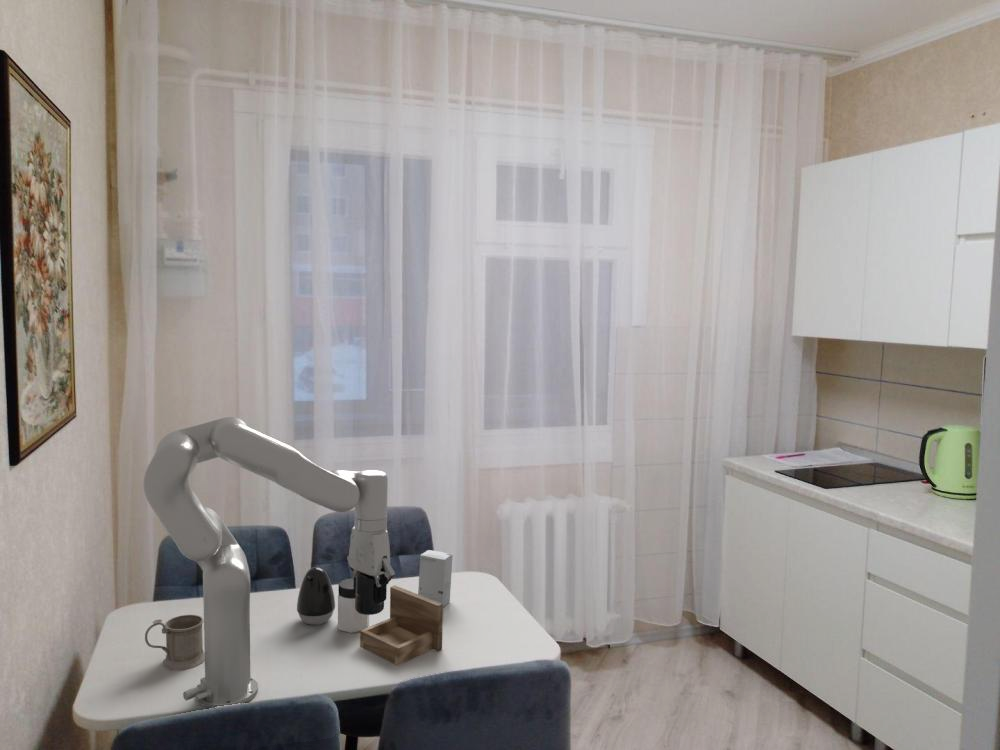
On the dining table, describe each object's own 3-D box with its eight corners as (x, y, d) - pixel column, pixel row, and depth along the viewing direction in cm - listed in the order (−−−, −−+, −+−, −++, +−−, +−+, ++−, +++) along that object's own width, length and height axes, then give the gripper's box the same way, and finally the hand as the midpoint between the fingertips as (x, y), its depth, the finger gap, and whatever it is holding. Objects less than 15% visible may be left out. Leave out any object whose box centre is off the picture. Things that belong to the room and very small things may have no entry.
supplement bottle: (348, 611, 176) (349, 562, 174) (367, 601, 182) (367, 553, 180) (372, 618, 172) (373, 567, 171) (390, 607, 178) (390, 559, 177)
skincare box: (417, 604, 218) (417, 555, 216) (426, 596, 223) (427, 548, 222) (443, 609, 215) (444, 559, 213) (452, 601, 220) (452, 552, 219)
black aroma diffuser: (289, 626, 201) (289, 572, 199) (308, 611, 211) (308, 559, 210) (324, 631, 199) (324, 576, 197) (341, 615, 209) (341, 563, 207)
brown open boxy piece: (403, 668, 180) (403, 620, 179) (355, 644, 191) (355, 599, 190) (442, 649, 190) (442, 604, 189) (394, 628, 202) (394, 585, 200)
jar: (343, 635, 196) (343, 591, 195) (332, 624, 203) (332, 581, 202) (375, 628, 201) (375, 585, 200) (363, 617, 208) (363, 575, 207)
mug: (193, 646, 188) (192, 601, 187) (214, 659, 182) (213, 612, 181) (136, 667, 177) (134, 619, 176) (155, 681, 171) (154, 631, 170)
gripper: (334, 519, 178) (334, 591, 179) (383, 535, 166) (381, 612, 168) (359, 512, 183) (358, 583, 185) (408, 528, 172) (406, 602, 174)
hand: (369, 596), depth 177 cm, fingers closed on supplement bottle, 6 cm apart
